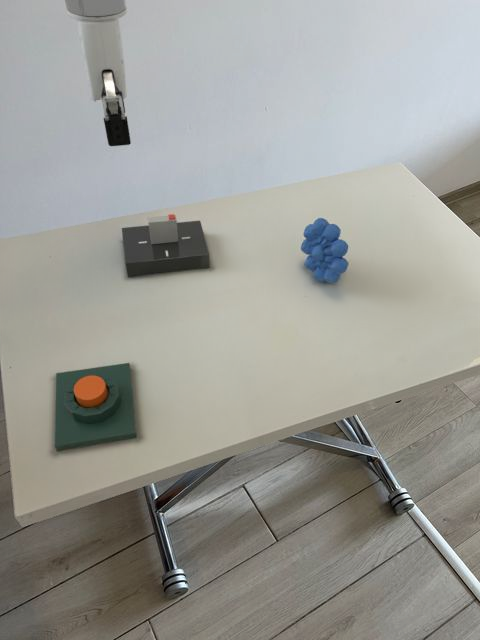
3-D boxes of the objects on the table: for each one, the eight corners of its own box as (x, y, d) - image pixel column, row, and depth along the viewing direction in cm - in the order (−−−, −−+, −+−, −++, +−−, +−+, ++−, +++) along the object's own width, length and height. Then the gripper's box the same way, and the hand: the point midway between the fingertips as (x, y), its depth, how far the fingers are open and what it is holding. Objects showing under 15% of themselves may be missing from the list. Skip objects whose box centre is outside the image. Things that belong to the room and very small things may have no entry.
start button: (76, 410, 68) (73, 402, 67) (76, 385, 71) (73, 377, 70) (108, 405, 69) (106, 397, 68) (107, 381, 72) (104, 373, 70)
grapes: (359, 292, 90) (374, 234, 81) (326, 304, 88) (337, 245, 79) (321, 253, 96) (331, 195, 87) (290, 263, 94) (296, 205, 85)
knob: (151, 244, 91) (148, 221, 87) (150, 239, 92) (147, 216, 88) (178, 241, 92) (176, 218, 88) (177, 236, 93) (175, 213, 89)
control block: (56, 451, 67) (50, 438, 65) (58, 378, 75) (52, 364, 73) (136, 437, 69) (133, 424, 67) (130, 367, 77) (127, 354, 74)
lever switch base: (127, 277, 90) (125, 262, 87) (124, 241, 96) (121, 227, 94) (209, 268, 92) (209, 253, 90) (200, 233, 99) (200, 219, 96)
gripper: (64, -21, 72) (89, 105, 85) (65, 24, 62) (94, 160, 75) (120, -22, 74) (136, 101, 87) (131, 21, 63) (148, 155, 76)
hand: (117, 128), depth 81 cm, fingers open, 9 cm apart
